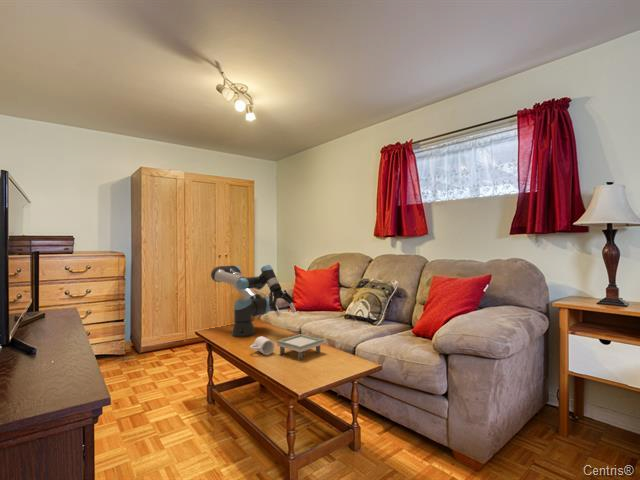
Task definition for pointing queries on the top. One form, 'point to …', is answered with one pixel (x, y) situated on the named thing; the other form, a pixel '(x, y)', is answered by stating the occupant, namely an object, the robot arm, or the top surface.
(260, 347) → the mug
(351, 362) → the top surface
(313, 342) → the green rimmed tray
